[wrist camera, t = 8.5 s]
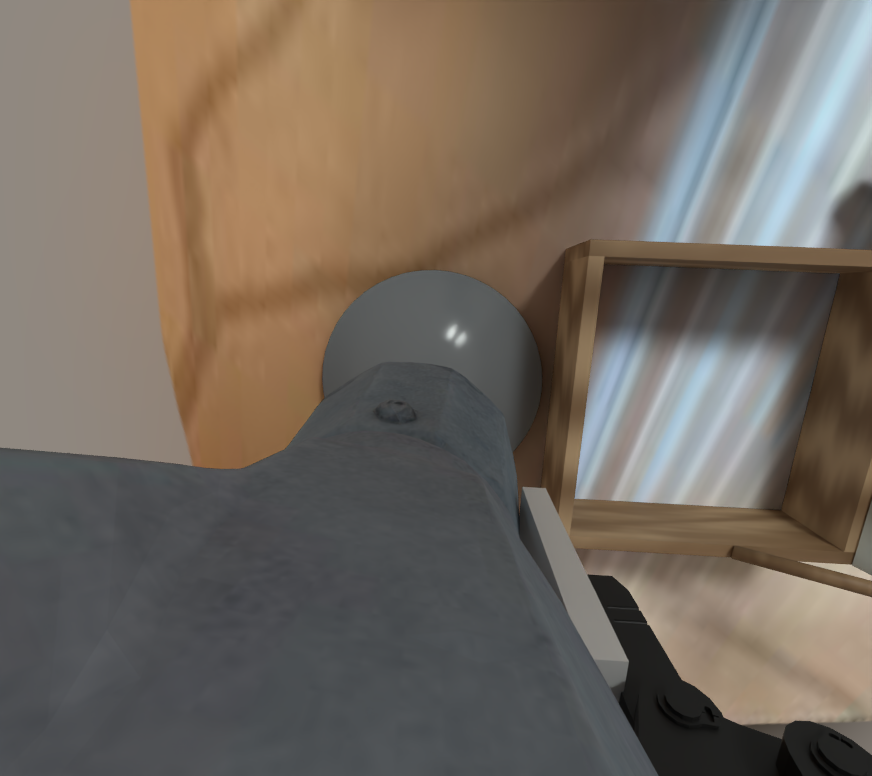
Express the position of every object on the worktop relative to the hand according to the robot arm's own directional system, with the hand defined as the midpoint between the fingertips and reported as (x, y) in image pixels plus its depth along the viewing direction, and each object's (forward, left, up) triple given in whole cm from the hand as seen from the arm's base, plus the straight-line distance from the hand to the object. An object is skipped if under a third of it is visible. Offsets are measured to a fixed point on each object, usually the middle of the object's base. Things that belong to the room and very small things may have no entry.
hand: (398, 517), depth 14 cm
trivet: (0, 0, -22) cm, 22 cm away
